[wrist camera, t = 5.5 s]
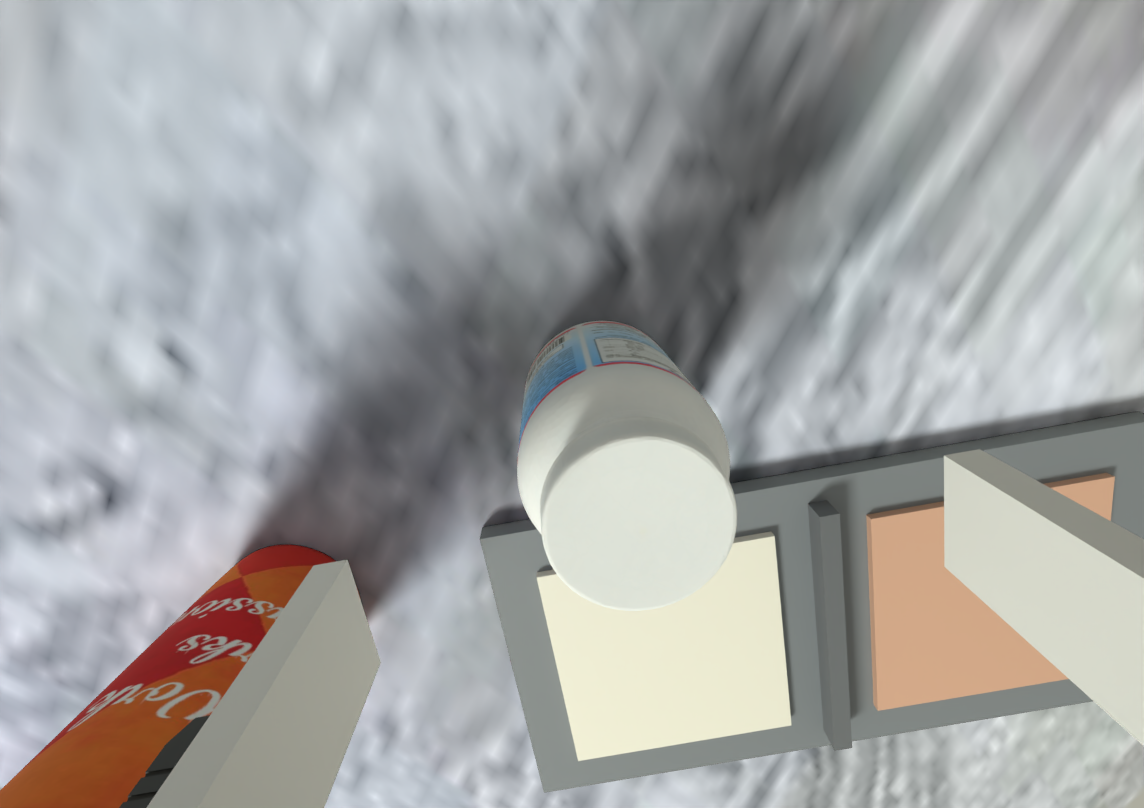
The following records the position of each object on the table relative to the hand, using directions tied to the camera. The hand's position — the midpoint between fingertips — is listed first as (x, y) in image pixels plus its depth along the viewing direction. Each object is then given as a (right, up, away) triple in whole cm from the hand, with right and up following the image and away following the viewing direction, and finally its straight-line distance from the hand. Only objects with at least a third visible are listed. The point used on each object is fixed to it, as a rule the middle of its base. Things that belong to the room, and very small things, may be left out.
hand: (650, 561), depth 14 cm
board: (+9, -6, +15) cm, 19 cm away
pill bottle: (-1, +4, +12) cm, 12 cm away
